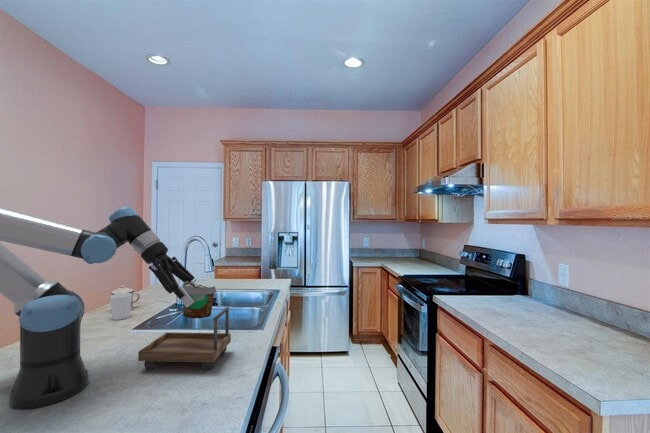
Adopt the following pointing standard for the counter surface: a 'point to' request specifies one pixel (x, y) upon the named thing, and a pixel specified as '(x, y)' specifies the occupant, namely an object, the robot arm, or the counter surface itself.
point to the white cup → (121, 305)
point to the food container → (198, 300)
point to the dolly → (188, 346)
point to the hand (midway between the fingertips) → (196, 300)
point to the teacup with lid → (126, 290)
